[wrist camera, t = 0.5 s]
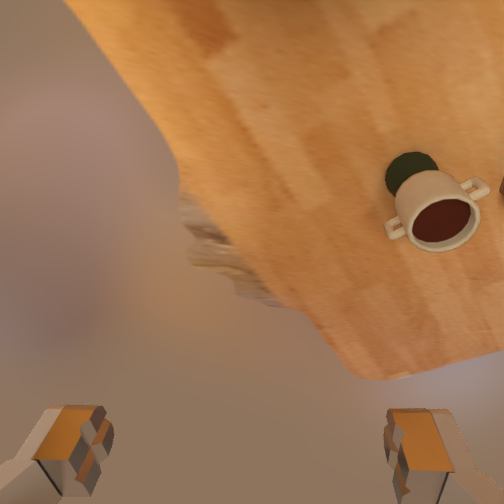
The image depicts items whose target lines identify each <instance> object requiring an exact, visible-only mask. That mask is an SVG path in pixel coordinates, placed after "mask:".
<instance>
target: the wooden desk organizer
mask: <svg viewBox="0 0 504 504" xmlns="http://www.w3.org/2000/svg"><path fill="white" fill-rule="evenodd" d="M499 191H500V192H502V193H503V194H504V178H503V181H502V184H501V187H500V190H499Z"/></svg>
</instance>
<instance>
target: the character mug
mask: <svg viewBox="0 0 504 504" xmlns="http://www.w3.org/2000/svg"><path fill="white" fill-rule="evenodd" d="M385 181H386V185H387V188H388V190H389V191H390V192H391V193H392V195H393V196H394V197H395V210H396V213H397V216H395V217H393V218H391V219H390V220H388V221H386V222H385V223H384V229H385V232H386V234H387V237H388V238H389V239H391V240H395V239H398V238H400V237H402V236H404V235H407V237H408V239H409V240H410V242H412V243H413V244H414V245H415V246H416V247H417V248H418V249H421V250H424V251H427V252H439V253H441V252H446V251H450V250H453V249H456V248H458V247H459V246H461V245H463V244H464V243H465V242H467V241H468V240H469V239H470V238H471V237H472V236H473V234H474V233H475V232H476V231H477V228H478V226H479V223H480V220H481V217H480V208H479V207H478V205H477V204H476V203H475V202H474V201H476V200H478V199H480V198H482V197H484V196H486V195H488V194H489V193H490V187H489V186H488V185H487V184H486V183H485V182H484V181H483V180H482V179H481V178H479V177H477V176H475V177H472V178H470V179H468V180H466V181H464V182H462V183H460V184H458V182H457V181H456V180H455V179H454V178H453V177H452V176H451V175H448V174H446V173H443V172H441V171H439V169H438V167H437V165H436V163H435V162H434V161H433V159H432V158H431V157H430V156H429V155H427V154H423V153H420V152H411V153H405V154H403V155H401V156H400V157H398V158H396V159H395V160H394V161H393V162H392V164H391V165H390V166H389V168H388V169H387V174H386V178H385ZM472 187H475V188H476V189H477V190H475V191H473V192H471V193H469V194H467V193H466V190H468V189H470V188H472ZM400 223H401V224H402V227H400V228H398V229H396V230H394V228H393V227H394V226H396V225H398V224H400Z"/></svg>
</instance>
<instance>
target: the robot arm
mask: <svg viewBox="0 0 504 504" xmlns="http://www.w3.org/2000/svg"><path fill="white" fill-rule="evenodd" d="M105 415H106V410H105V409H104V407H103V406H93V405H91V406H90V405H60V404H59V405H58V404H55V405H54V404H52V405H51V406H50V407H48V408H47V409H46V410H45V412H44V413H43V415H42V416H41V418H40V419H39V421H38V422H37V424H36V426H35V427H34V428H33V430H32V432H31V433H30V435H29V436H28V438H27V439H26V441H25V442H24V444H23V445H22V447H21V449H20V450H19V452H18V453H17V454H16V456H15V458H14V459H11V460H10V459H9V460H7V461H6V462H4V463H3V464H2V465H0V504H57V503H58V502H59V501H60V500H61V499H62V498H61V497H91V495H92V493H93V490H94V487H95V486H96V483H97V481H98V479H99V476H100V474H101V468H100V463H101V462H102V461H103V460H104V459H105V458H107V457H108V455H109V452H110V450H111V448H112V444H113V439H114V429H113V426H112V423H111V422H110V421H108V420H107V419H106V418H104V417H105ZM386 418H387V422H388V425H386V426H385V428H384V448H385V454H386V458H387V462H388V464H389V466H390V467H391V468H392V469H393V470H394V476H393V481H392V482H393V486H394V490H395V494H396V498H397V501H398V504H504V490H503V489H502V488H501V487H500V486H499V485H498V484H496V483H495V482H494V481H493V480H492V479H491V478H490V477H489V476H488V475H487V474H480V473H479V471H478V469H477V467H476V465H475V463H474V461H473V459H472V456H471V454H470V452H469V450H468V448H467V446H466V444H465V441H464V439H463V437H462V435H461V433H460V431H459V428H458V426H457V424H456V422H455V420H454V417H453V416H452V413H451V412H450V411H449V410H447V409H425V408H422V409H421V408H413V409H412V408H407V409H405V408H404V409H402V408H401V409H388V410H387V415H386Z"/></svg>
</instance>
